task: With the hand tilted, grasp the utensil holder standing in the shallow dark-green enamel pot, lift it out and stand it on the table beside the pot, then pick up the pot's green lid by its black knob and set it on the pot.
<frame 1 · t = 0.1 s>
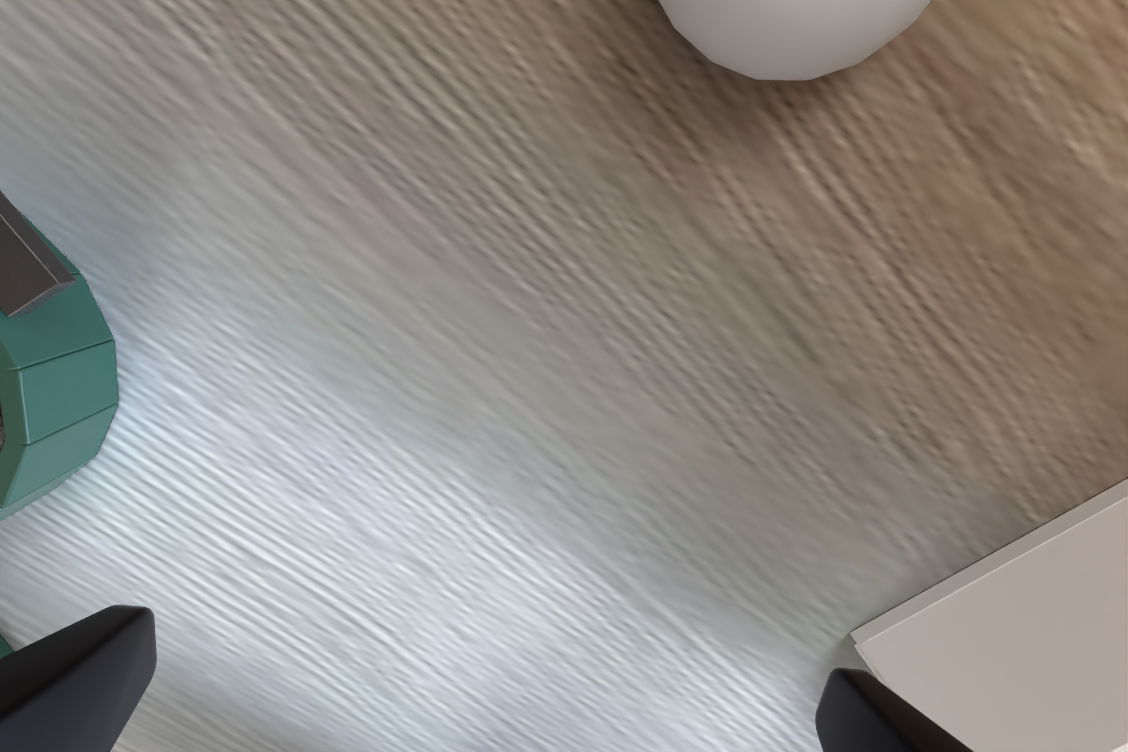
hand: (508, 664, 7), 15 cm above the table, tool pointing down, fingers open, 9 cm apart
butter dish: (1079, 663, 28), on the table
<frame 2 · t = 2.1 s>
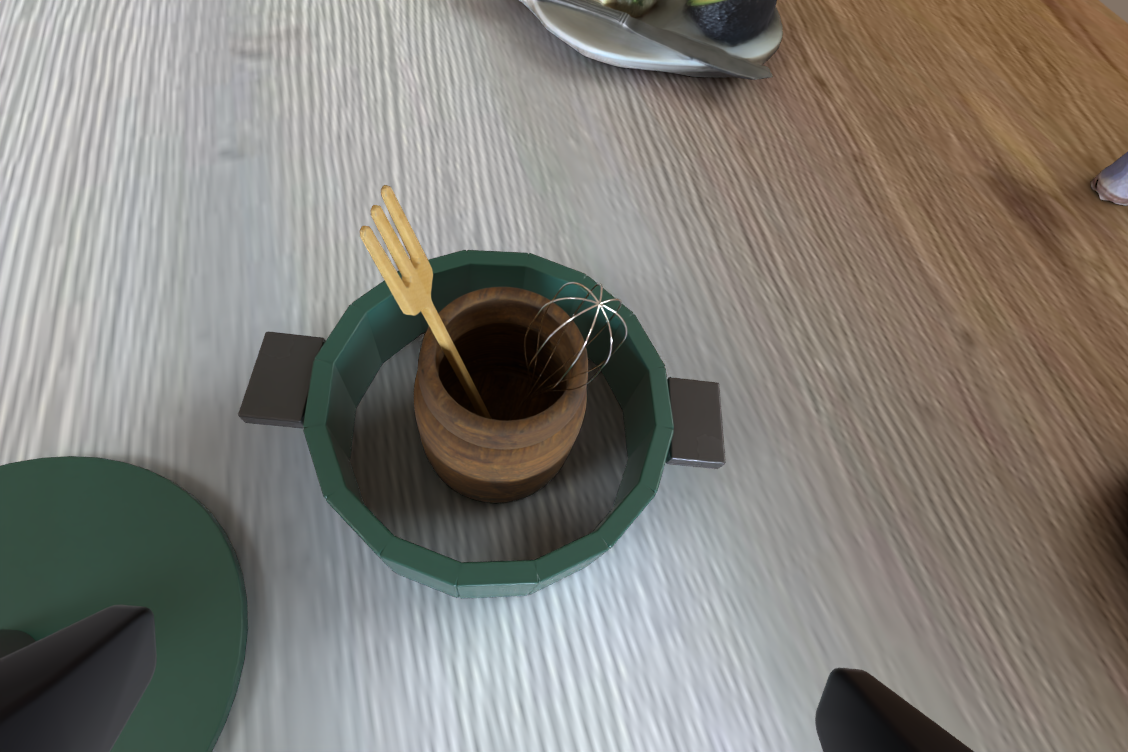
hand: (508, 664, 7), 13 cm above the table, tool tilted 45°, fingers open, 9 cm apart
utensil holder: (493, 436, 23), resting in pot
pot lid: (7, 673, 17), on the table
pot: (494, 434, 23), on the table
salad plate: (653, 10, 38), on the table
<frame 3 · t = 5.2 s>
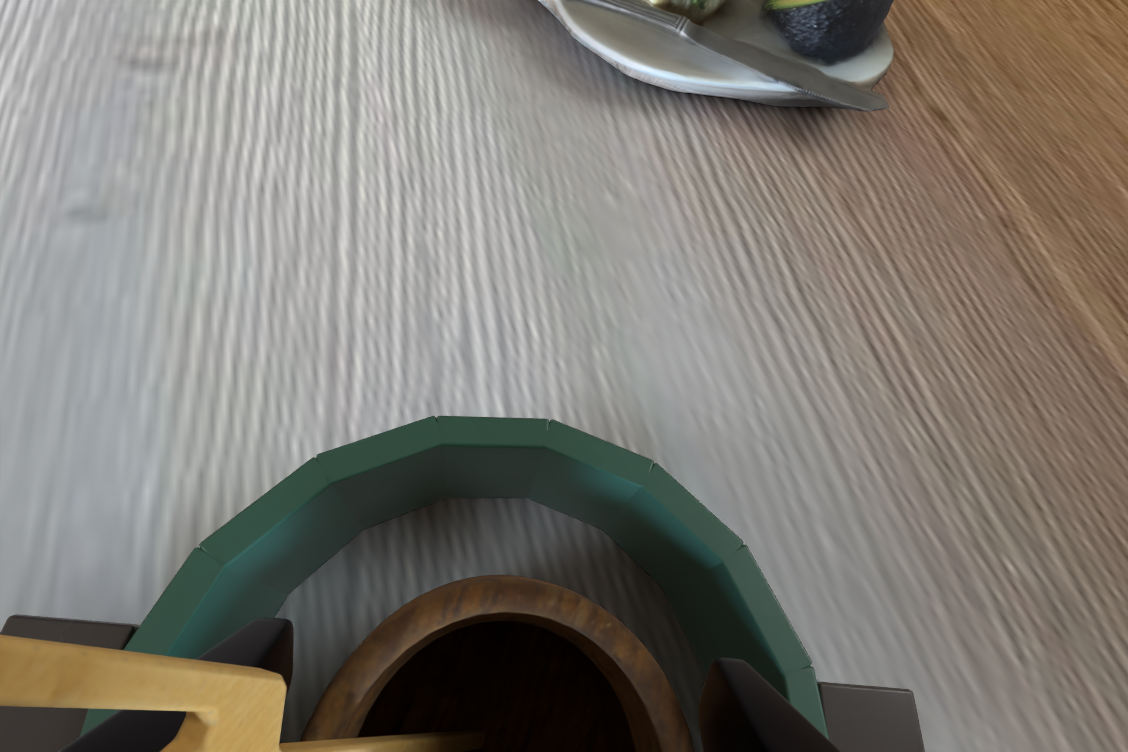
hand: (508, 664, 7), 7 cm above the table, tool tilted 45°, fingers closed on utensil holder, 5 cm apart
utensil holder: (480, 737, 13), resting in pot, touching gripper
pot: (480, 738, 13), on the table
salad plate: (712, 17, 29), on the table
when the fingers open (7 cm above the table, at t = 11.5 s): utensil holder stays where it is, on the table.
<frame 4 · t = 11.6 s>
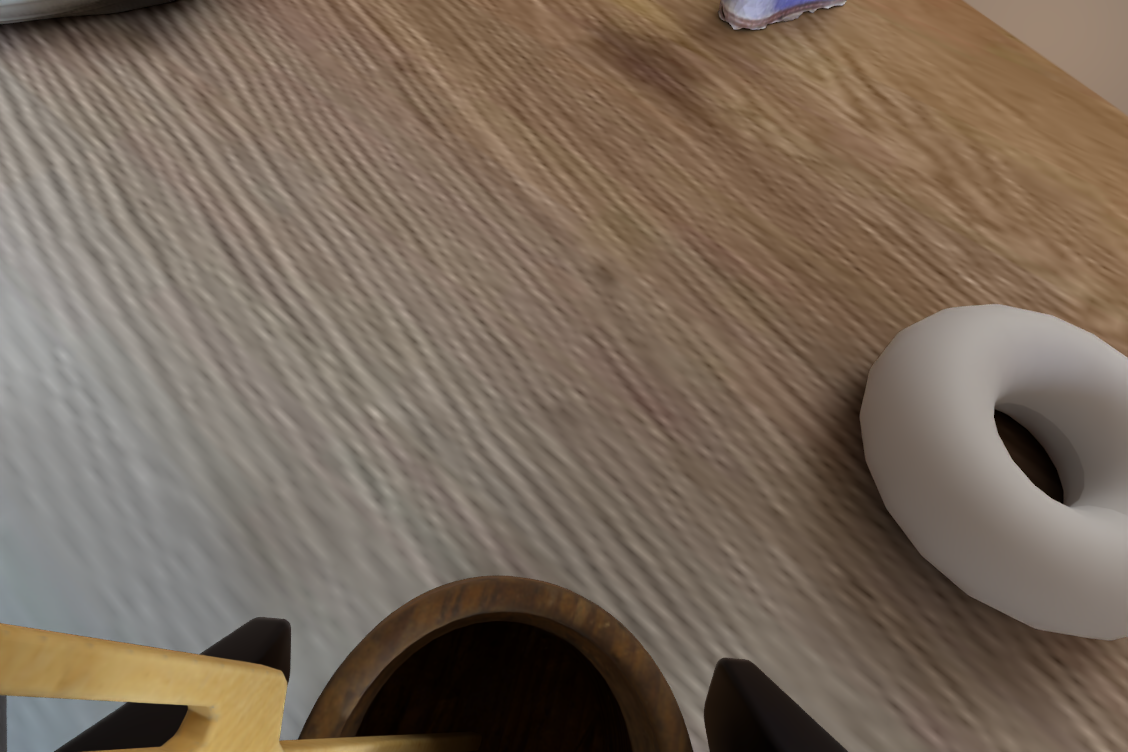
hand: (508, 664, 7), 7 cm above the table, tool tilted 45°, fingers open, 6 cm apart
flask: (781, 8, 30), on the table
utensil holder: (477, 739, 13), on the table
donut: (979, 473, 18), on the table
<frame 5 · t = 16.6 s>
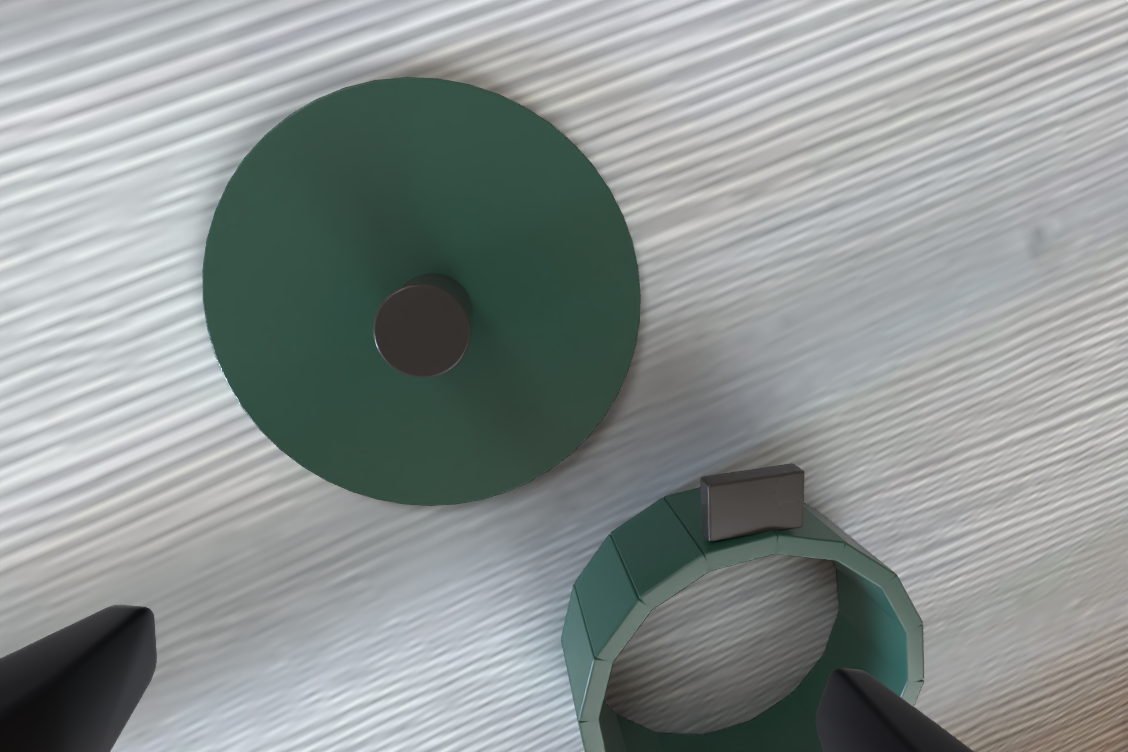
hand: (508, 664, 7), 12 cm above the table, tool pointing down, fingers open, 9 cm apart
pot lid: (435, 309, 18), on the table
pot: (712, 622, 23), on the table
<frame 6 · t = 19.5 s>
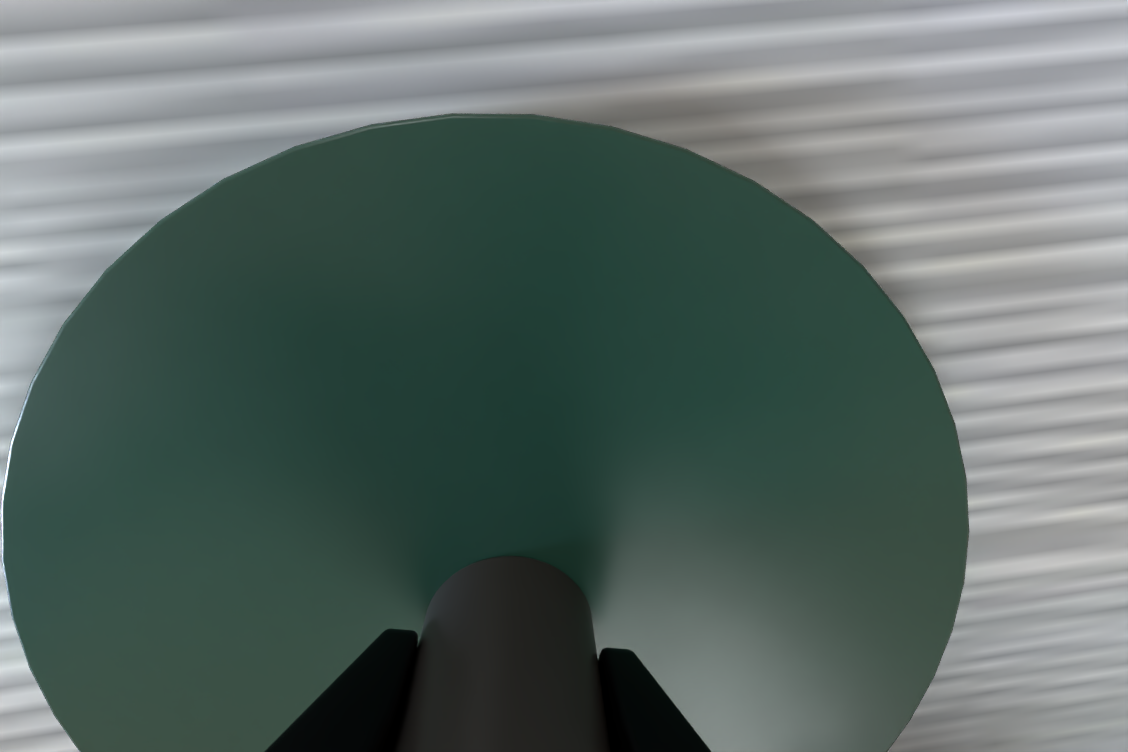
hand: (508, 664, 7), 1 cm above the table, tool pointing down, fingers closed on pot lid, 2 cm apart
pot lid: (510, 601, 9), on the table, touching gripper
when the fingers open (5 cm above the table, at t = 24.8 s): pot lid stays where it is, resting on pot.
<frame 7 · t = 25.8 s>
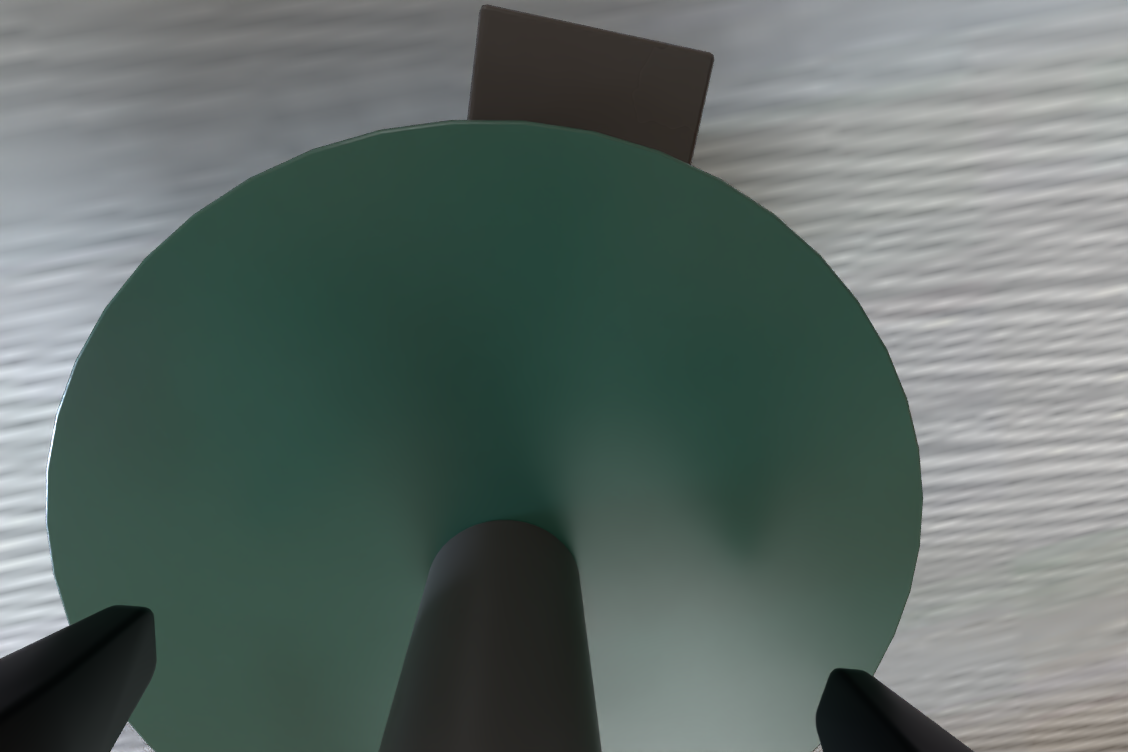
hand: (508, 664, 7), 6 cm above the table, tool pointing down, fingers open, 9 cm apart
pot lid: (506, 565, 9), point 4 cm above the table, touching pot
pot: (516, 463, 13), on the table
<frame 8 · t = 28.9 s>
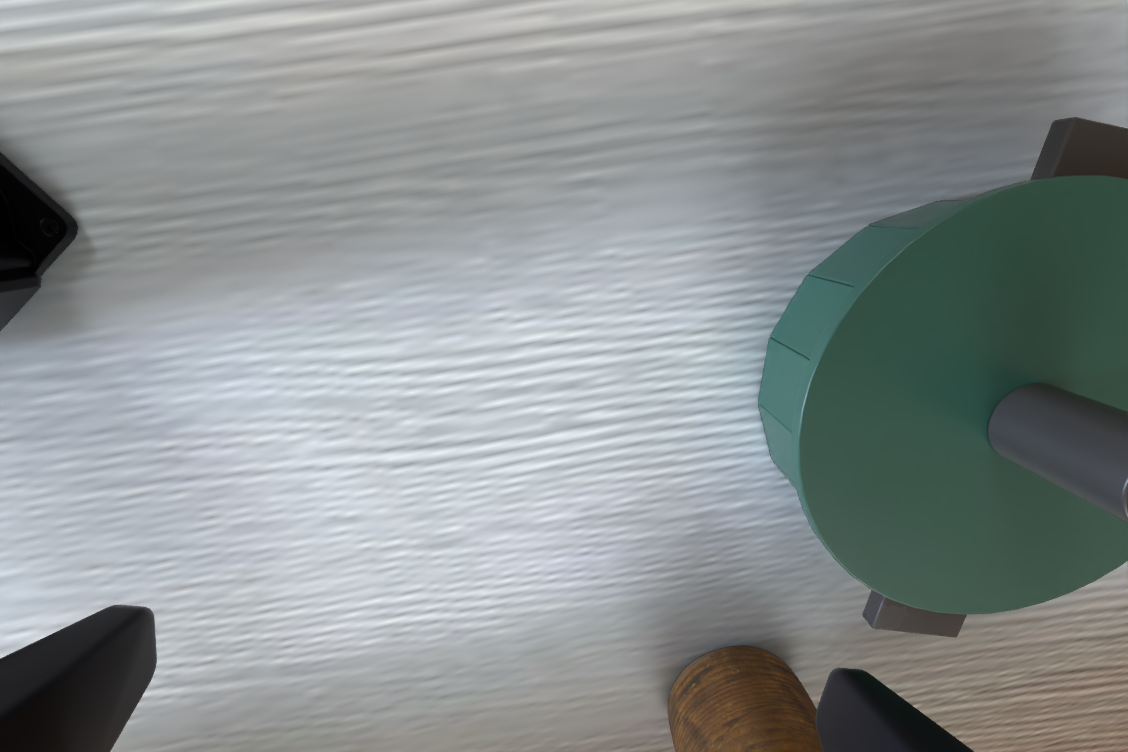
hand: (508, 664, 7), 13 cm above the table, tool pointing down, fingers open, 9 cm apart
utensil holder: (731, 689, 25), on the table
pot lid: (1012, 415, 17), point 4 cm above the table, touching pot
pot: (925, 378, 21), on the table
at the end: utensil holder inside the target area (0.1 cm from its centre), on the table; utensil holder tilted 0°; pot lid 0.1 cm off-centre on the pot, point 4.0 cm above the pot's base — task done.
